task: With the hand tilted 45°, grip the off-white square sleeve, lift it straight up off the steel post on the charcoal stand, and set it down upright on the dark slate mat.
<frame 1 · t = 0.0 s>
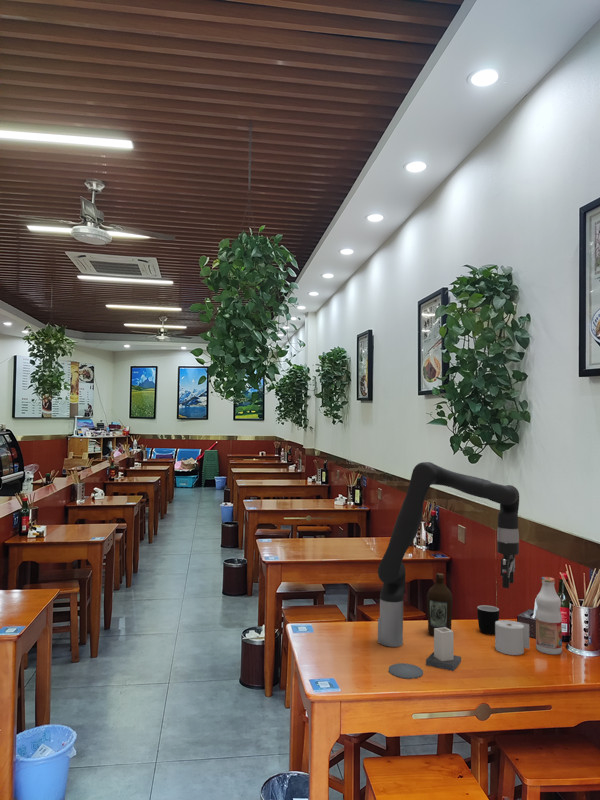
hand: (508, 585, 206), 29 cm above the table, tool pointing down, fingers open, 8 cm apart
sleeve: (443, 657, 207), point 2 cm above the table, touching post stand
fruit juice: (548, 651, 222), on the table
post stand: (443, 663, 207), on the table
mug: (486, 631, 244), on the table
olive oil: (439, 634, 239), on the table
mat: (405, 671, 198), on the table
toilet tissue: (510, 650, 222), on the table
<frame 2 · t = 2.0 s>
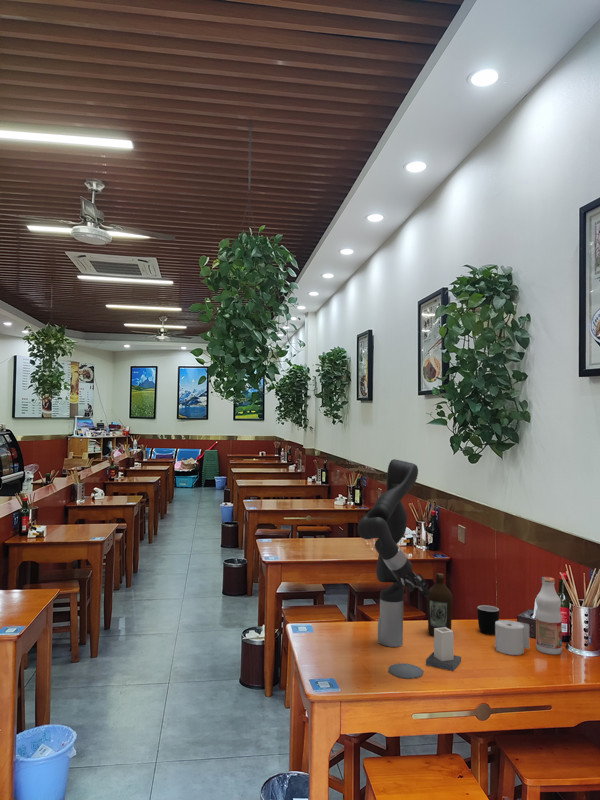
hand: (420, 592, 205), 26 cm above the table, tool tilted 40°, fingers open, 8 cm apart
nothing on the table moved.
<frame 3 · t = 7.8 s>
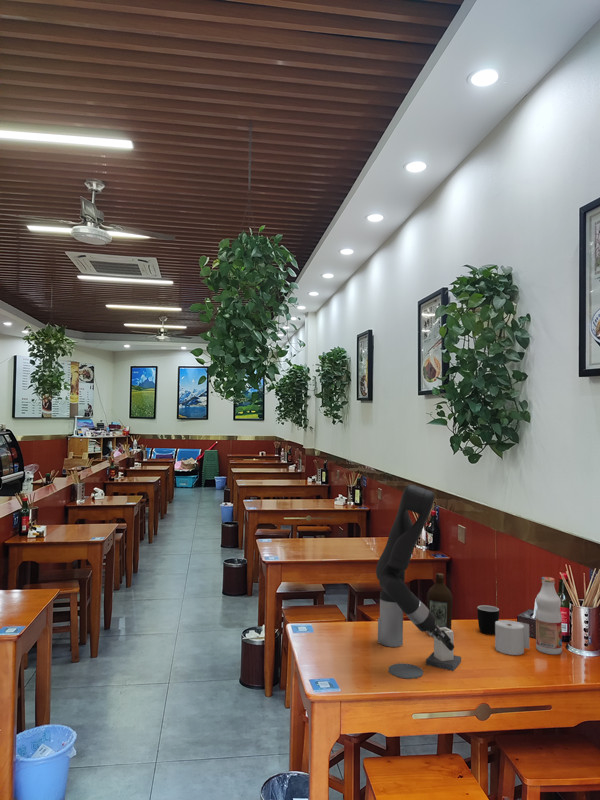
hand: (447, 645, 208), 6 cm above the table, tool tilted 45°, fingers closed on sleeve, 5 cm apart
sleeve: (443, 657, 207), point 2 cm above the table, touching gripper, post stand
everything else where it was.
when the fingers open (6 cm above the table, at t = 16.1 s): sleeve drops 2 cm, resting on mat.
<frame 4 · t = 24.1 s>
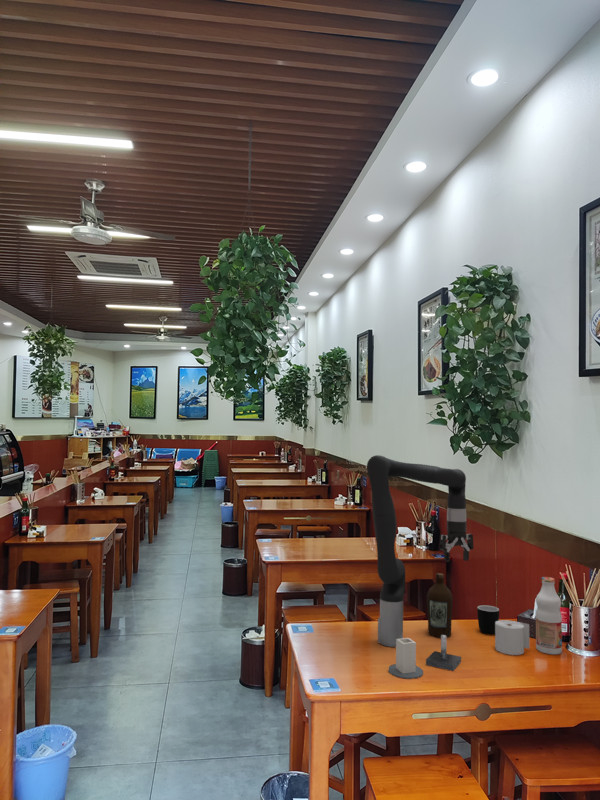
hand: (456, 561, 224), 34 cm above the table, tool pointing down, fingers open, 8 cm apart
sleeve: (405, 670, 198), point 1 cm above the table, touching mat
everything else where it was.
at the end: sleeve inside the target area on the mat (0.1 cm from its centre), point 0.6 cm above the mat's base; sleeve tilted 0°; the gripper is holding nothing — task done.
